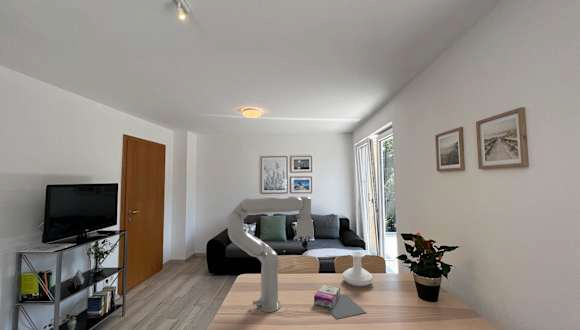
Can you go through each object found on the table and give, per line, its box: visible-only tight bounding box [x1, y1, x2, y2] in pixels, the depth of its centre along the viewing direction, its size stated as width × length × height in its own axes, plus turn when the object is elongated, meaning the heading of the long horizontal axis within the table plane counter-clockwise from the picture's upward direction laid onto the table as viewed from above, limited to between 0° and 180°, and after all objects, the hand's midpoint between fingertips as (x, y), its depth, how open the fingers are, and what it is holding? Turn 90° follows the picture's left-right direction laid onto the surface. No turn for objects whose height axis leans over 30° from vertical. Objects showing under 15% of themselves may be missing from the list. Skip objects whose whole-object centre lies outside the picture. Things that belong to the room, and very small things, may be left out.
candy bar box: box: [313, 284, 341, 308], centre depth 144 cm, size 11×5×16 cm
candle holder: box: [342, 251, 373, 287], centre depth 169 cm, size 20×20×19 cm
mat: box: [325, 293, 367, 320], centre depth 139 cm, size 18×22×1 cm
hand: (304, 247), depth 147 cm, fingers closed
